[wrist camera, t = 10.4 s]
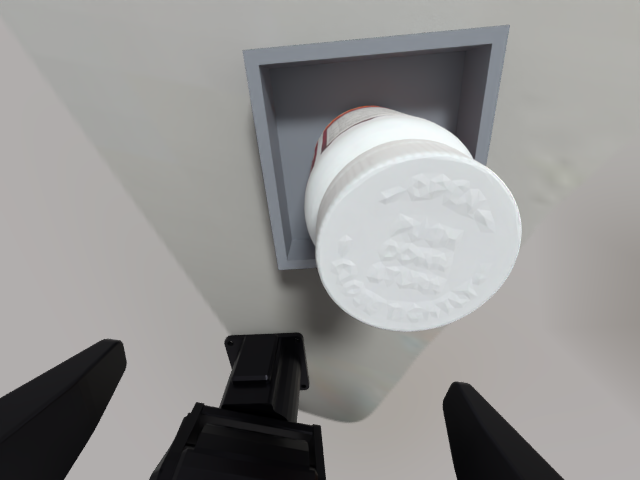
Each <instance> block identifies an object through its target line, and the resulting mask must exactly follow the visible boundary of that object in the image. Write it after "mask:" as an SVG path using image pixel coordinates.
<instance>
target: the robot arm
mask: <svg viewBox="0 0 640 480" xmlns="http://www.w3.org/2000/svg"><path fill="white" fill-rule="evenodd" d="M297 339H298V340H297ZM230 341H231V342H230ZM224 344H225V347H226V351H227V354H228V357H229V361H230V364H231V367H232V371H231V374H230V377H229V380H228V383H227V386H226V389H225V392H224V395H223V398H222V401H221V404H220V407H219V408H216V407H210V406H205V405H204V403H198V402H196V404H195V406H194V408H193V410H192V412H191V413H188V415H187V416H186V417H184V419H183V421H182V423H181V426H180V428H179V430H178V432H177V435H176V437H175V439H174V441H173V443H172V444H171V446H170V448H169V449H168V451H167V452H166V454H165V455H164V457H163V458H162V460H161V461H160V463H159V464H158V465H157V467H156V469H155V470H154V471H153V473H152V475H151V477H150V479H149V480H326V475H325V465H324V455H323V445H322V435H321V426H320V425H314V424H313V425H306V424H301V423H297V413H298V402H299V391H300V390H307V389H308V388H309V376H308V369H307V362H306V354H305V347H304V340H303V335H302V334H300V333H278V334H254V335H231V336H228V337H227V338H226V339H225V343H224ZM126 363H127V362H126V357H125V351H124V346H123V343H122V342H121V341H120V340H113V339H104V340H101V341H99V342H97V343H96V344H94V345H92V346H90V347H89V348H87V349H85V350H83V351H82V352H80V353H78V354H76V355H75V356H73V357H71V358H69V359H68V360H66V361H64V362H62V363H61V364H59V365H57V366H56V367H54V368H52V369H50V370H48V371H47V372H45V373H43V374H42V375H40V376H38V377H36V378H34V379H33V380H31V381H29V382H28V383H26V384H24V385H22V386H21V387H19V388H17V389H15V390H14V391H12V392H10V393H9V394H6V395H5V396H3V397H1V398H0V480H64V479H65V477H66V475H67V474H68V472H69V471H70V469H71V468H72V466H73V464H74V463H75V461H76V460H77V458H78V456H79V455H80V453H81V452H82V450H83V448H84V447H85V445H86V443H87V442H88V440H89V439H90V437H91V435H92V434H93V432H94V430H95V428H96V426H97V425H98V423H99V421H100V419H101V417H102V415H103V413H104V411H105V409H106V407H107V405H108V403H109V401H110V399H111V397H112V395H113V393H114V391H115V389H116V387H117V385H118V383H119V381H120V379H121V377H122V375H123V373H124V371H125V368H126ZM443 411H444V417H445V423H446V428H447V433H448V438H449V443H450V449H451V454H452V460H453V464H454V469H455V472H456V477H457V480H564V479H563V478H562V477H561V476H560V475H559V474H558V473H557V472H556V471H555V470H554V469H553V468H552V467H551V466H550V465H549V464H548V463H547V462H546V461H545V460H544V459H543V458H542V457H541V456H540V455H539V454H538V453H537V452H536V451H535V450H534V449H533V448H532V447H531V445H530V444H529V443H528V442H526V440H524V438H523V437H522V436H521V435H519V433H518V432H517V431H516V430H515V429H514V428H513V427H512V426H511V425H510V424H509V423H508V422H507V421H506V420H505V419H504V418H503V417H502V416H501V415H500V414H499V413H498V412H497V411H496V410H495V409H494V408H493V407H492V406H491V405H490V404H489V403H488V402H487V401H486V400H485V399H484V398H483V397H482V396H481V395H480V394H479V393H478V392H477V391H476V390H475V389H474V388H473V387H472V386H471V385H470V384H468V383H463V382H453V383H452V384H451V386H450V388H449V390H448V392H447V394H446V396H445V398H444V400H443Z"/></svg>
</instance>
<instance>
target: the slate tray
mask: <svg viewBox="0 0 640 480" xmlns="http://www.w3.org/2000/svg"><path fill="white" fill-rule="evenodd" d="M509 27H510V25H502V26H492V27H481V28H471V29H460V30H450V31H439V32H429V33H418V34H408V35H397V36H387V37H376V38H366V39H355V40H345V41H334V42H324V43H313V44H303V45H292V46H282V47H271V48H261V49H250V50H243V56H244V62H245V68H246V74H247V81H248V87H249V93H250V99H251V105H252V111H253V117H254V123H255V129H256V135H257V141H258V148H259V154H260V160H261V166H262V172H263V178H264V184H265V190H266V196H267V202H268V209H269V215H270V221H271V227H272V233H273V239H274V245H275V251H276V257H277V263H278V270H286V269H305V268H317V265H316V258H315V245H314V243H313V241H312V239H311V237H310V235H309V232H308V229H307V225H306V220H305V211H304V206H305V190H306V185H307V181H308V179H309V175H310V170H311V165H312V160H313V155H314V150H315V147H316V144H317V142H318V139H319V138H320V136H321V134H322V132H323V131H324V130H325V128H326V127H327V126H328V125H329V123H331V122H332V121H333V120H334V119H335V118H336V117H338V116H339V115H341V114H342V113H344V112H346V111H348V110H351V109H354V108H357V107H363V106H379V107H385V108H388V109H392V110H395V111H398V112H401V113H404V114H407V115H411V116H414V117H419V118H423V119H426V120H428V121H431V122H433V123H436V124H437V125H439V126H441V127H443V128H445V129H446V130H448V131H449V132H451V133H452V134H453V135H454V136H456V137H457V138H458V139H459V140H460V141H461V142H462V143H463V144H464V146H465V147H466V148H467V149H468V151H469V152H470V154H471V155H472V157H473V159H474V160H476V161H477V162H479V163H481V164H483V165H484V166H486V163H487V157H488V151H489V145H490V139H491V134H492V128H493V122H494V116H495V110H496V104H497V98H498V92H499V86H500V80H501V75H502V69H503V63H504V57H505V51H506V45H507V39H508V33H509Z"/></svg>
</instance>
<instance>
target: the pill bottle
mask: <svg viewBox="0 0 640 480" xmlns="http://www.w3.org/2000/svg"><path fill="white" fill-rule="evenodd" d="M304 211H305V220H306V225H307V229H308V232H309V235H310V237H311V239H312V241H313V243H314V245H315V258H316V265H317V269H318V273H319V276H320V279H321V282H322V284H323V286H324V288H325V289H326V291H327V293H328V294H329V296H330V297H331V299H332V300H333V301H334V302H335V303H336V304H337V305H338V306H339V307H340V308H341V309H342V310H344V311H345V312H346V313H347V314H349V315H350V316H351V317H353V318H355V319H357V320H359V321H361V322H363V323H364V324H368V325H370V326H373V327H376V328H381V329H385V330H391V331H404V332H406V331H422V330H428V329H433V328H437V327H440V326H444V325H447V324H449V323H452V322H454V321H456V320H458V319H461V318H463V317H465V316H466V315H468V314H470V313H472V312H473V311H474V310H476V309H477V308H479V307H480V306H481V305H482V304H484V303H485V302H486V301H488V300H489V299H490V298H491V297H492V296H493V295H494V294H495V293H496V292H497V290H498V289H499V288H500V287H501V286H502V284H503V283H504V281H505V280H506V279H507V277H508V276H509V274H510V272H511V271H512V268H513V266H514V264H515V261H516V258H517V256H518V253H519V248H520V242H521V233H522V228H521V218H520V213H519V210H518V207H517V204H516V202H515V199H514V197H513V195H512V193H511V192H510V190H509V189H508V187H507V186H506V185H505V183H504V182H503V181H502V180H501V179H500V178H499V177H498V176H497V175H496V174H495V173H494V172H493V171H491V170H490V169H489V168H487V167H486V166H484V165H483V164H481V163H479V162H477V161H476V160H474V159H473V157H472V155H471V154H470V152H469V151H468V149H467V148H466V147H465V146H464V144H463V143H462V142H461V141H460V140H459V139H458V138H457V137H456V136H454V135H453V134H452V133H451V132H449V131H448V130H446V129H445V128H443V127H441V126H439V125H437V124H436V123H433V122H431V121H428V120H426V119H423V118H419V117H414V116H411V115H407V114H404V113H401V112H398V111H395V110H392V109H388V108H385V107H379V106H363V107H357V108H354V109H351V110H348V111H346V112H344V113H342V114H341V115H339V116H338V117H336V118H335V119H334V120H333V121H332V122H331V123H329V125H328V126H327V127H326V128H325V130H324V131H323V132H322V134H321V136H320V138H319V139H318V142H317V144H316V147H315V150H314V155H313V160H312V165H311V170H310V175H309V179H308V181H307V185H306V190H305V206H304Z"/></svg>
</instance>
